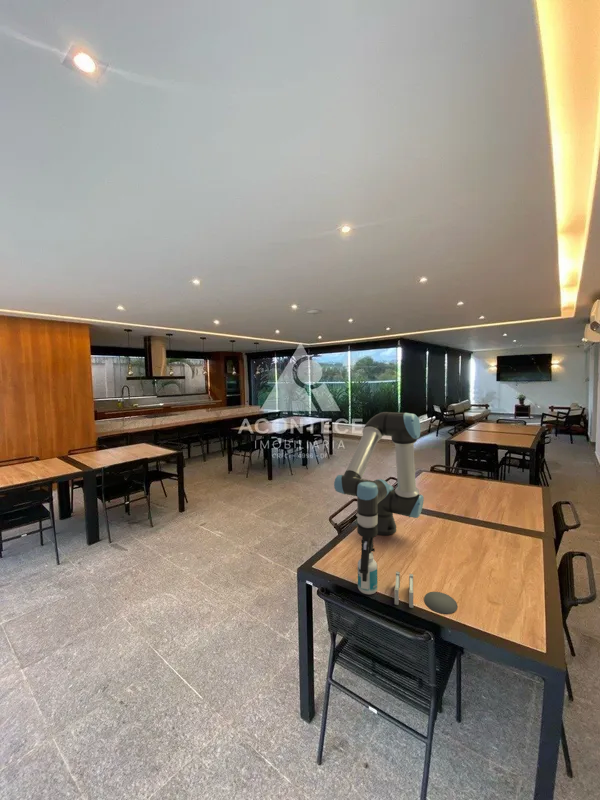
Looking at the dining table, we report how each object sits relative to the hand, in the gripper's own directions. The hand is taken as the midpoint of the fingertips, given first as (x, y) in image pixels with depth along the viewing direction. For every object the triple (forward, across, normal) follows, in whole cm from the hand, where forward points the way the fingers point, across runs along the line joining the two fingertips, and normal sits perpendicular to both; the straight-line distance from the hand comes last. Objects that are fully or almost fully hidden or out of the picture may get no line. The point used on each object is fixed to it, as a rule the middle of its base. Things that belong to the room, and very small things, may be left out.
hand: (367, 577), depth 126 cm
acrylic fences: (+5, 0, +14) cm, 14 cm away
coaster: (+5, 0, +26) cm, 27 cm away
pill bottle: (+5, 0, 0) cm, 5 cm away
